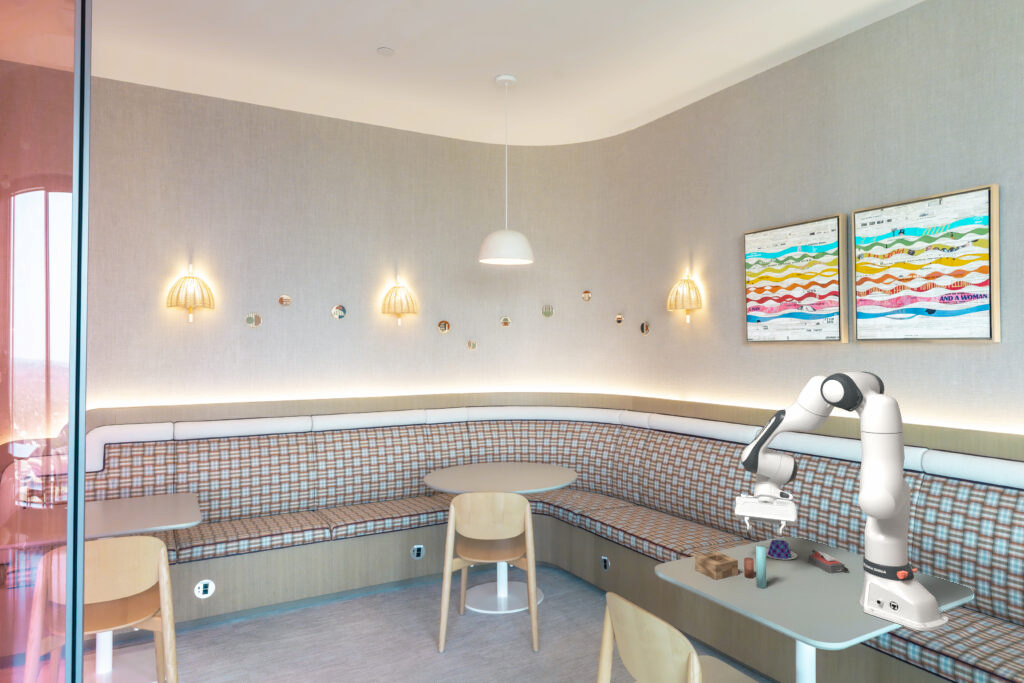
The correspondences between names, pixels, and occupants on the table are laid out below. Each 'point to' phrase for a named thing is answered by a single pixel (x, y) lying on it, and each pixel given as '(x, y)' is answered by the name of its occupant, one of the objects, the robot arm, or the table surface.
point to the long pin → (761, 567)
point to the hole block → (716, 565)
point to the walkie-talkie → (826, 562)
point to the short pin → (749, 567)
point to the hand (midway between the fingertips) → (764, 532)
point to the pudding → (780, 550)
